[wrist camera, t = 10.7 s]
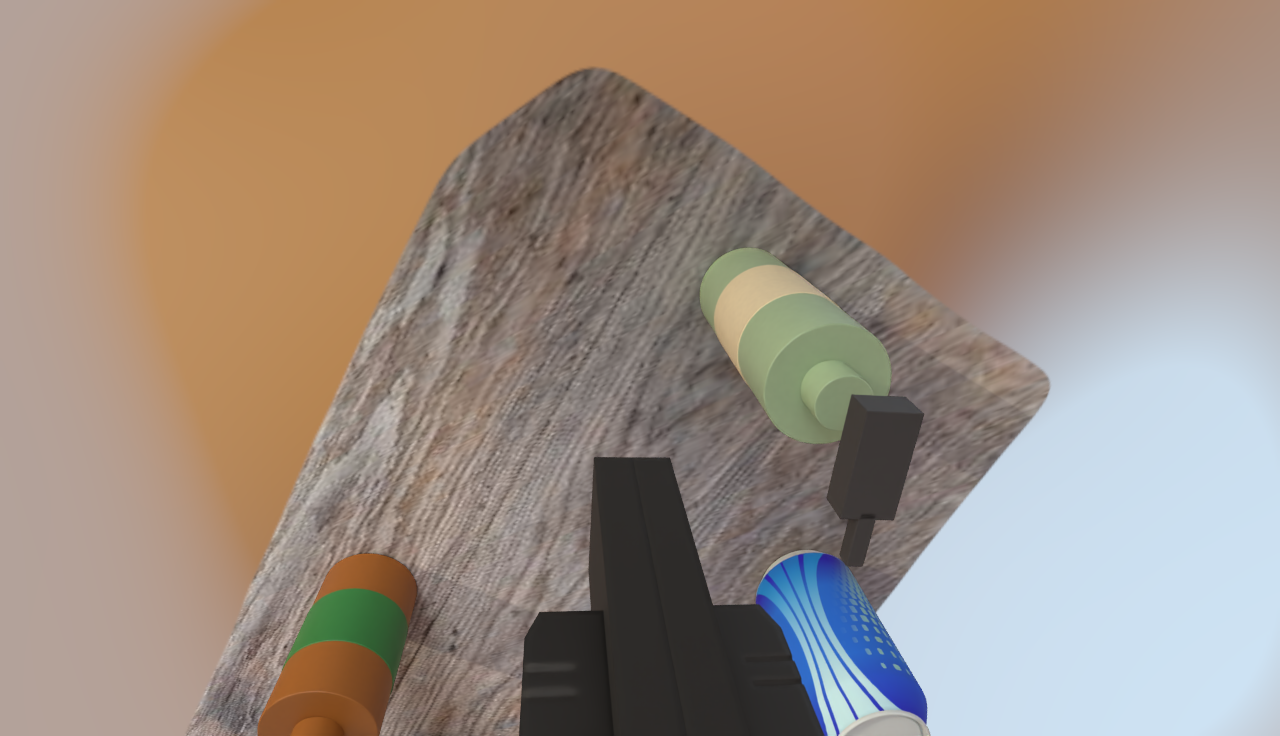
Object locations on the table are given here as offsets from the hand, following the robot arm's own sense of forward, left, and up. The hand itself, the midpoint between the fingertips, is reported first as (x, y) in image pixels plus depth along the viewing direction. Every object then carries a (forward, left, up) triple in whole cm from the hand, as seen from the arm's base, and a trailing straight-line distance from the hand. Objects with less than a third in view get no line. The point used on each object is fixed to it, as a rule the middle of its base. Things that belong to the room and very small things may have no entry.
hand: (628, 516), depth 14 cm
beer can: (+29, +21, -34) cm, 49 cm away
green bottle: (+4, +12, -33) cm, 36 cm away
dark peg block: (+6, +12, -14) cm, 19 cm away
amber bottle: (+30, -14, -33) cm, 47 cm away
